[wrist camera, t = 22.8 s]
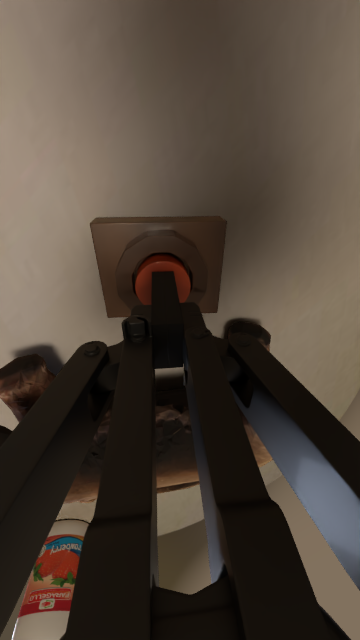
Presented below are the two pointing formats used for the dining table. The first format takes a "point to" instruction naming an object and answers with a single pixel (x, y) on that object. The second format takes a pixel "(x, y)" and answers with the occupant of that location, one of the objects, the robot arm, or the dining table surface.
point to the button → (160, 265)
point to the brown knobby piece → (171, 423)
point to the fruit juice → (51, 584)
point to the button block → (158, 238)
